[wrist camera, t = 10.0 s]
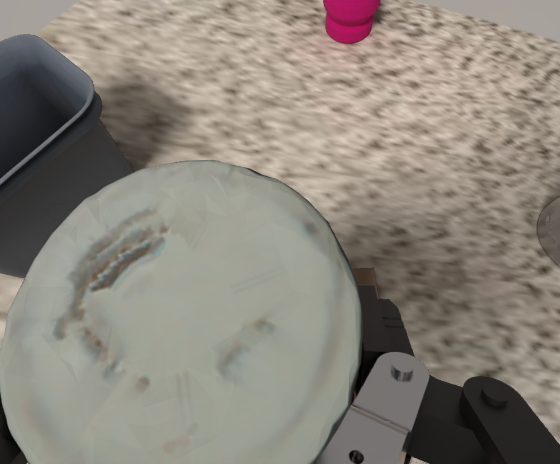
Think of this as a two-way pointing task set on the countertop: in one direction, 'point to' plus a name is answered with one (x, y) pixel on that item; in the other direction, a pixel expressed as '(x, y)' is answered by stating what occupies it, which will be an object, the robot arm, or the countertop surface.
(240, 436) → the sauce bottle
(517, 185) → the countertop surface
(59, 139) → the storage bin
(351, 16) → the pepper mill
